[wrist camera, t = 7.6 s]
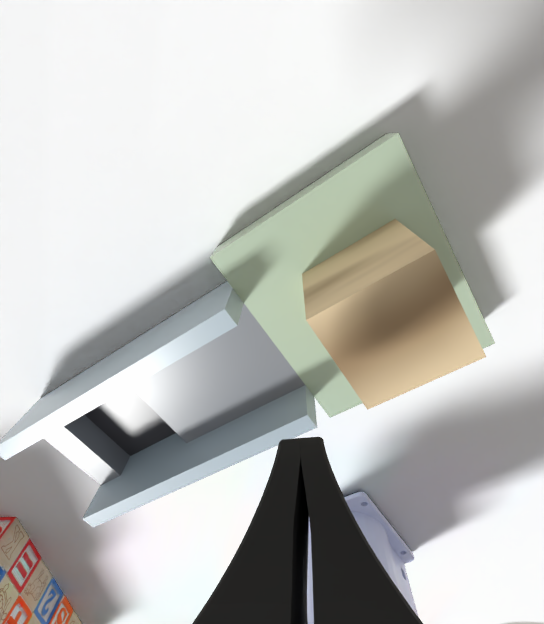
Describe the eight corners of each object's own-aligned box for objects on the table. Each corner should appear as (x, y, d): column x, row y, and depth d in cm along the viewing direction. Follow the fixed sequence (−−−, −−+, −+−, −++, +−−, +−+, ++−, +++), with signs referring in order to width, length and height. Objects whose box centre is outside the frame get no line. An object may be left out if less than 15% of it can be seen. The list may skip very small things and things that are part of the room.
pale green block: (477, 325, 21) (522, 370, 17) (138, 485, 28) (113, 542, 24) (386, 133, 17) (417, 132, 13) (18, 379, 24) (-37, 428, 20)
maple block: (437, 302, 18) (486, 356, 14) (349, 346, 20) (367, 409, 15) (395, 218, 16) (434, 249, 12) (301, 273, 18) (306, 320, 13)
